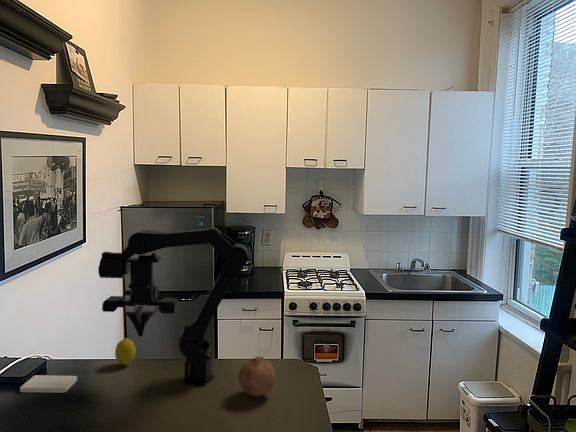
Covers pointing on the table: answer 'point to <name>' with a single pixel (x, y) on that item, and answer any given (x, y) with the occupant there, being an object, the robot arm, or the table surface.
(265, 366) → the onion
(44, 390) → the tile
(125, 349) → the lemon
